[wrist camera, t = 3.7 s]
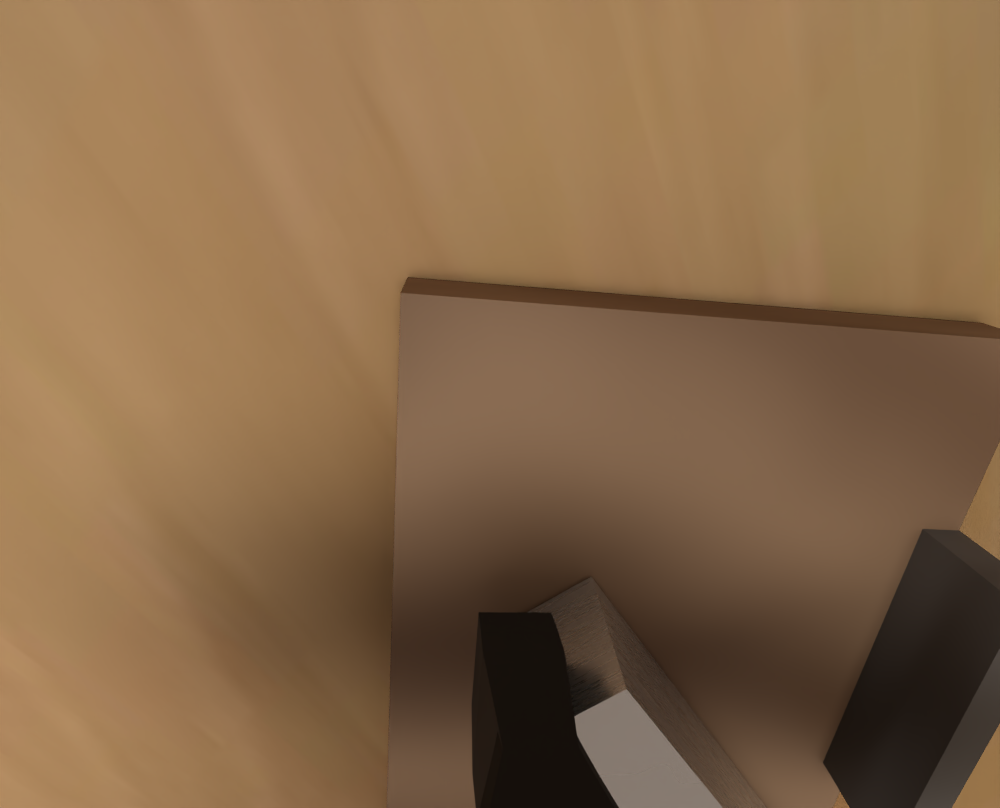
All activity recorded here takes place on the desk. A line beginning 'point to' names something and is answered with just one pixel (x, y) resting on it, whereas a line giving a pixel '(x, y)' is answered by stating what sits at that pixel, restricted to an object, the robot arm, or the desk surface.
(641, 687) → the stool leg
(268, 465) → the desk surface
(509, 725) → the robot arm
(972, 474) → the walnut board
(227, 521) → the desk surface
